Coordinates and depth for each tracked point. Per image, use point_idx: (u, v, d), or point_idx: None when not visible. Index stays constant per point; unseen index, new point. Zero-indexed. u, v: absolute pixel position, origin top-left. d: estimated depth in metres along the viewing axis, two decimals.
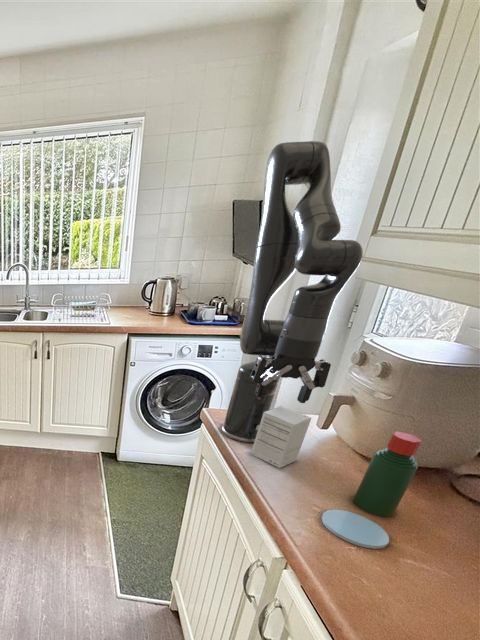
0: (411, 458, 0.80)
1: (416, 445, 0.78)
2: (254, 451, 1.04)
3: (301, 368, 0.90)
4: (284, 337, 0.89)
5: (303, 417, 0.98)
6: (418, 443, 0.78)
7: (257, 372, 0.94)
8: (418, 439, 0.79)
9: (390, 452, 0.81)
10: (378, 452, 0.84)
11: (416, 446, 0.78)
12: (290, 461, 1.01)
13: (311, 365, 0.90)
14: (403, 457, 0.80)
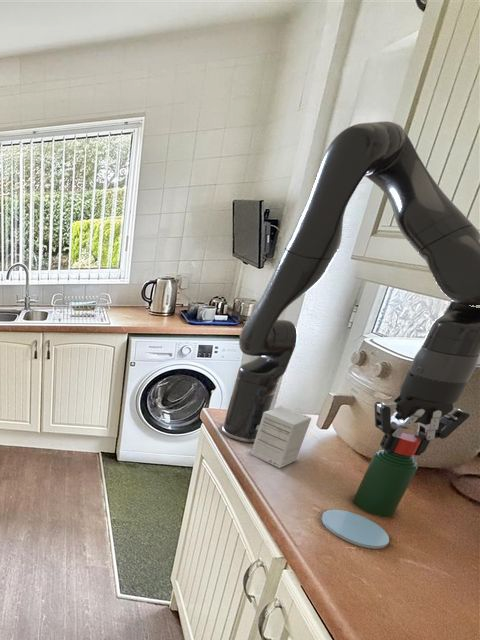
0: (411, 458, 0.80)
1: (416, 445, 0.78)
2: (254, 451, 1.04)
3: (436, 413, 0.75)
4: (417, 376, 0.74)
5: (303, 417, 0.98)
6: (418, 443, 0.78)
7: (384, 422, 0.79)
8: (418, 439, 0.79)
9: None
10: (378, 452, 0.84)
11: (416, 446, 0.78)
12: (290, 461, 1.01)
13: (448, 409, 0.75)
14: (403, 457, 0.80)
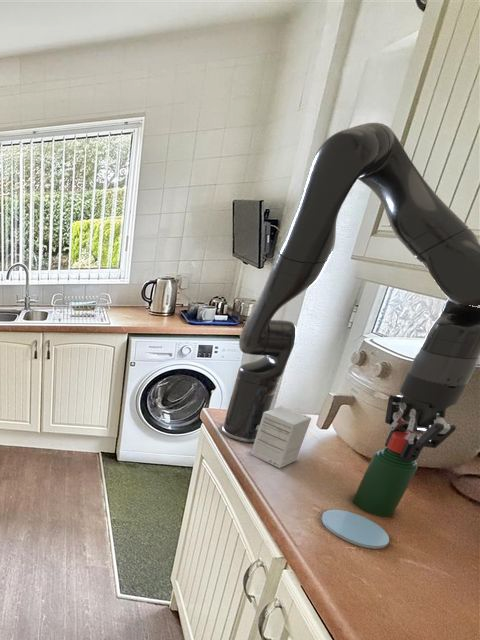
0: None
1: None
2: (254, 451, 1.04)
3: None
4: (459, 386, 0.71)
5: (303, 417, 0.98)
6: None
7: None
8: (406, 433, 0.81)
9: (390, 452, 0.81)
10: (378, 452, 0.84)
11: None
12: (290, 461, 1.01)
13: None
14: None
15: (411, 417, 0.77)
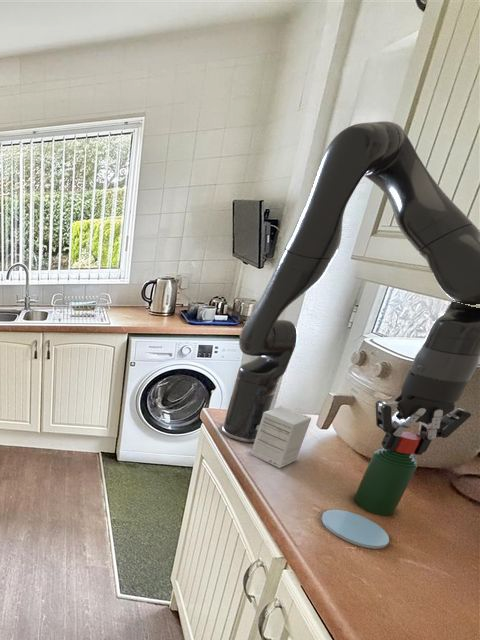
0: (411, 456, 0.80)
1: None
2: (254, 451, 1.04)
3: (437, 412, 0.75)
4: (418, 375, 0.74)
5: (303, 417, 0.98)
6: None
7: (385, 421, 0.79)
8: None
9: None
10: (378, 451, 0.84)
11: None
12: (290, 461, 1.01)
13: (450, 408, 0.75)
14: (403, 456, 0.80)
15: None
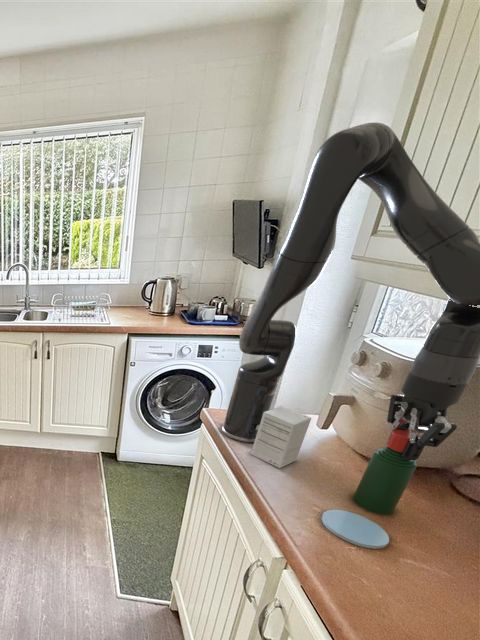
0: None
1: (397, 439, 0.80)
2: (254, 451, 1.04)
3: None
4: (460, 385, 0.71)
5: (303, 417, 0.98)
6: (400, 438, 0.79)
7: None
8: (407, 437, 0.79)
9: (391, 452, 0.81)
10: (377, 451, 0.84)
11: (396, 439, 0.80)
12: (290, 461, 1.01)
13: None
14: None
15: (412, 417, 0.77)
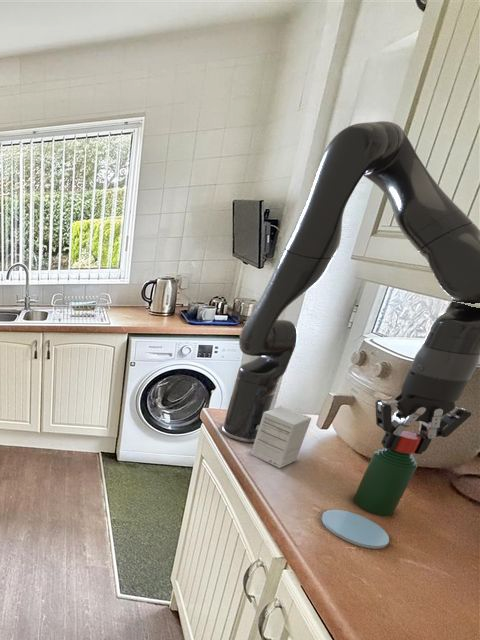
0: (411, 456, 0.80)
1: (416, 443, 0.78)
2: (254, 451, 1.04)
3: (437, 411, 0.75)
4: (418, 374, 0.74)
5: (303, 417, 0.98)
6: (418, 440, 0.78)
7: (384, 420, 0.79)
8: (418, 437, 0.79)
9: (392, 452, 0.81)
10: (378, 453, 0.83)
11: (416, 443, 0.78)
12: (290, 461, 1.01)
13: (450, 408, 0.75)
14: (405, 456, 0.80)
15: None
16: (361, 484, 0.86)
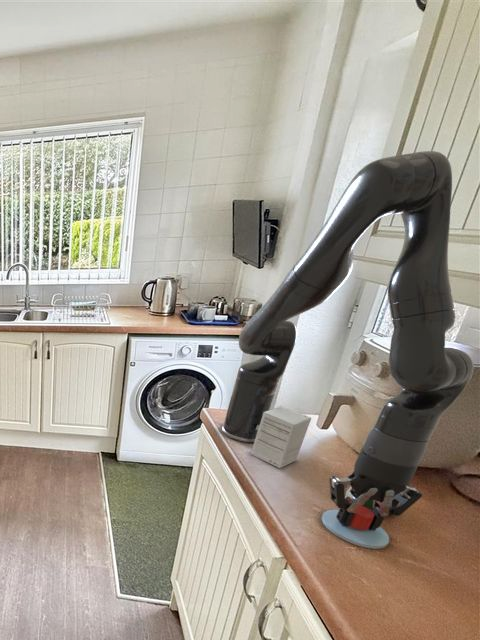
0: None
1: (370, 521, 0.78)
2: (254, 451, 1.04)
3: (389, 492, 0.74)
4: (369, 456, 0.73)
5: (303, 417, 0.98)
6: (371, 518, 0.78)
7: (338, 498, 0.78)
8: (372, 514, 0.78)
9: None
10: None
11: (370, 521, 0.78)
12: (290, 461, 1.01)
13: (401, 488, 0.74)
14: None
15: None
16: None
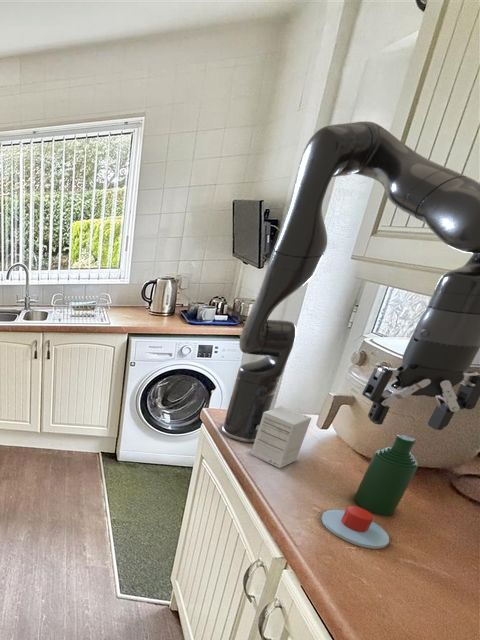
0: (412, 456, 0.80)
1: (368, 523, 0.78)
2: (254, 451, 1.04)
3: (444, 383, 0.65)
4: (422, 340, 0.65)
5: (303, 417, 0.98)
6: (370, 520, 0.78)
7: (377, 388, 0.69)
8: (370, 516, 0.78)
9: (393, 452, 0.81)
10: (379, 453, 0.83)
11: (368, 523, 0.78)
12: (290, 461, 1.01)
13: (458, 379, 0.65)
14: (406, 456, 0.80)
15: None
16: (362, 484, 0.86)
